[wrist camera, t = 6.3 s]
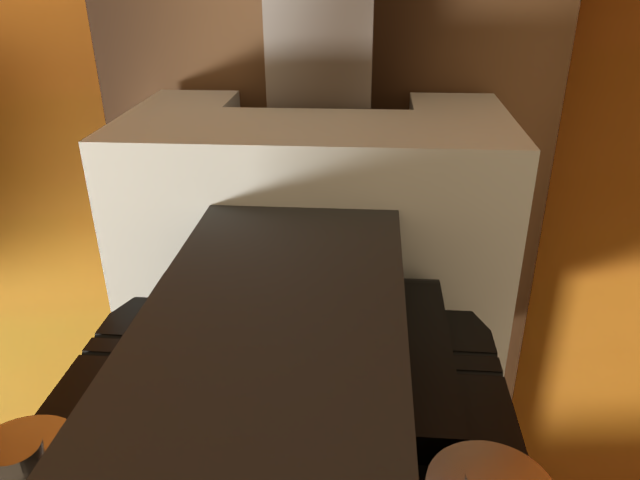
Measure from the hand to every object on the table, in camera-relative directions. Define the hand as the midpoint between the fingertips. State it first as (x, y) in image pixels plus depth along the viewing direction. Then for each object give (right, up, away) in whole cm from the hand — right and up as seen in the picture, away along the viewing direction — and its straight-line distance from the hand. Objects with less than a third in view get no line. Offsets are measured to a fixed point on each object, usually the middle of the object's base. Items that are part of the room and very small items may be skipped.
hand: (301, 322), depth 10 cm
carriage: (0, +2, +4) cm, 4 cm away
